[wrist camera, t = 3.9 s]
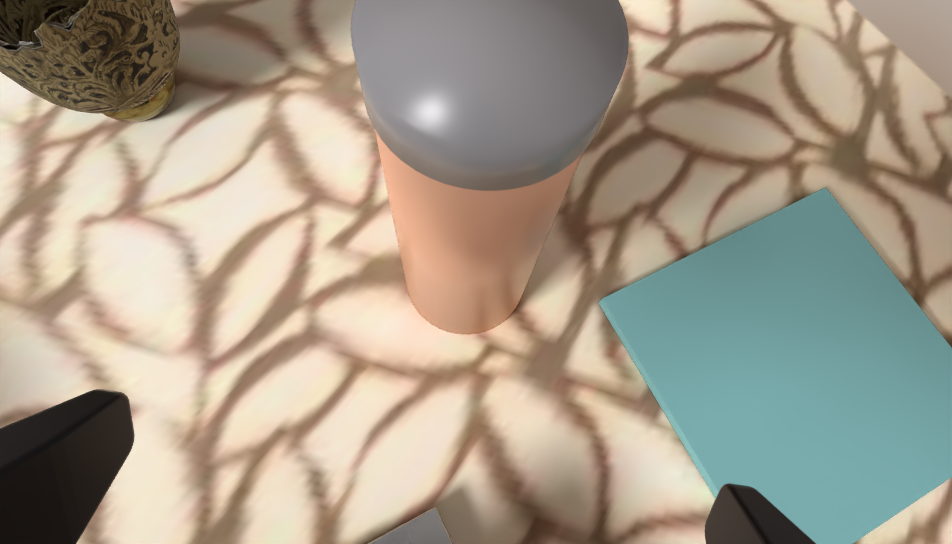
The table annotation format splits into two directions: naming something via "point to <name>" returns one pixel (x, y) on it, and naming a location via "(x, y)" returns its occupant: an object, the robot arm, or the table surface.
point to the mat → (797, 369)
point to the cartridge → (482, 135)
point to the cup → (93, 53)
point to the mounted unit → (418, 531)
